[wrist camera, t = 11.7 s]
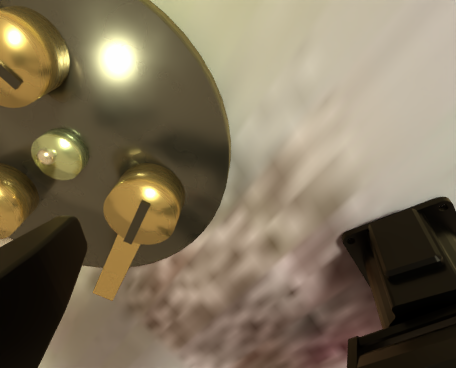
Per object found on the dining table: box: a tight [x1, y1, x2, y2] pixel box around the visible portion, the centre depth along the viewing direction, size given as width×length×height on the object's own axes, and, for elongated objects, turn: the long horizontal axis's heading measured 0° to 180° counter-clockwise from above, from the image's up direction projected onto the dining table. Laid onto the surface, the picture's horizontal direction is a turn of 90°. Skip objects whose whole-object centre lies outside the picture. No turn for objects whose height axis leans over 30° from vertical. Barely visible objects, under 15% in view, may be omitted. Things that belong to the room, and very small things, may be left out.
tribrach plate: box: [0, 0, 231, 268], centre depth 20 cm, size 19×19×3 cm
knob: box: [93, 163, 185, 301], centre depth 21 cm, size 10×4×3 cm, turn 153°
